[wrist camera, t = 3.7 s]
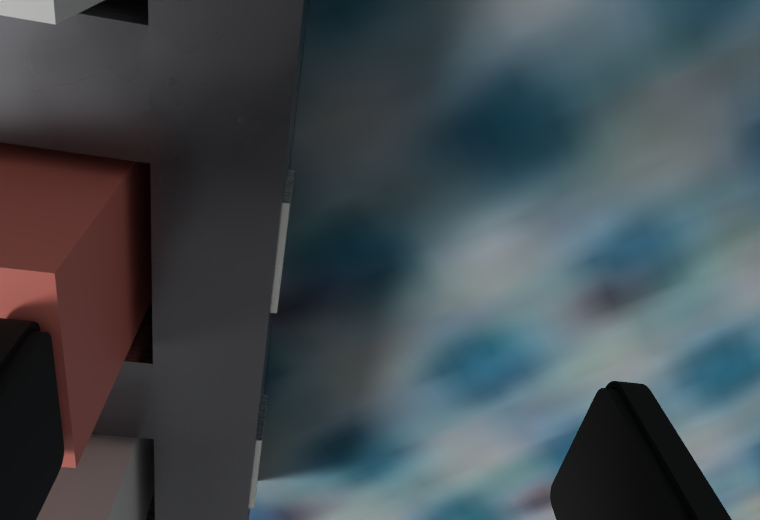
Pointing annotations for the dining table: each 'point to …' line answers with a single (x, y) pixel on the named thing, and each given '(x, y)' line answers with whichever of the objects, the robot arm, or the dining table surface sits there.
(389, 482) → the dining table surface
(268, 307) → the push button control box
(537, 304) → the dining table surface
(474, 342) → the dining table surface
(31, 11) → the button
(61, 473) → the button
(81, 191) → the button
